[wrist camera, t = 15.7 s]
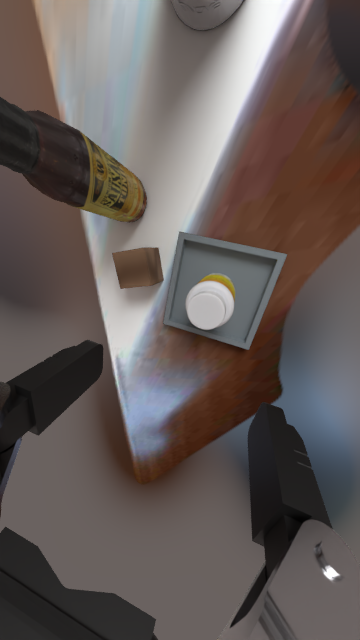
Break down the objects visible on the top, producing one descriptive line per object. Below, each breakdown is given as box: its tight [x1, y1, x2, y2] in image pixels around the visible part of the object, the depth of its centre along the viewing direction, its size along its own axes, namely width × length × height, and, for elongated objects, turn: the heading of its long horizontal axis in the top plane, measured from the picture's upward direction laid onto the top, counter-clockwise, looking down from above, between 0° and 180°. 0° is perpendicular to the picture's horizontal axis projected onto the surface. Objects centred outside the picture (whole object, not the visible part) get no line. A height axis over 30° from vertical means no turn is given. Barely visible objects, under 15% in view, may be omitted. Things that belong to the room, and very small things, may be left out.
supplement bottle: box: [185, 273, 235, 330], centre depth 24 cm, size 6×6×10 cm
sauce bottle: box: [0, 97, 147, 222], centre depth 19 cm, size 6×6×20 cm
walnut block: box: [112, 248, 164, 289], centre depth 29 cm, size 5×5×5 cm
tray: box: [163, 232, 287, 350], centre depth 28 cm, size 14×14×2 cm
